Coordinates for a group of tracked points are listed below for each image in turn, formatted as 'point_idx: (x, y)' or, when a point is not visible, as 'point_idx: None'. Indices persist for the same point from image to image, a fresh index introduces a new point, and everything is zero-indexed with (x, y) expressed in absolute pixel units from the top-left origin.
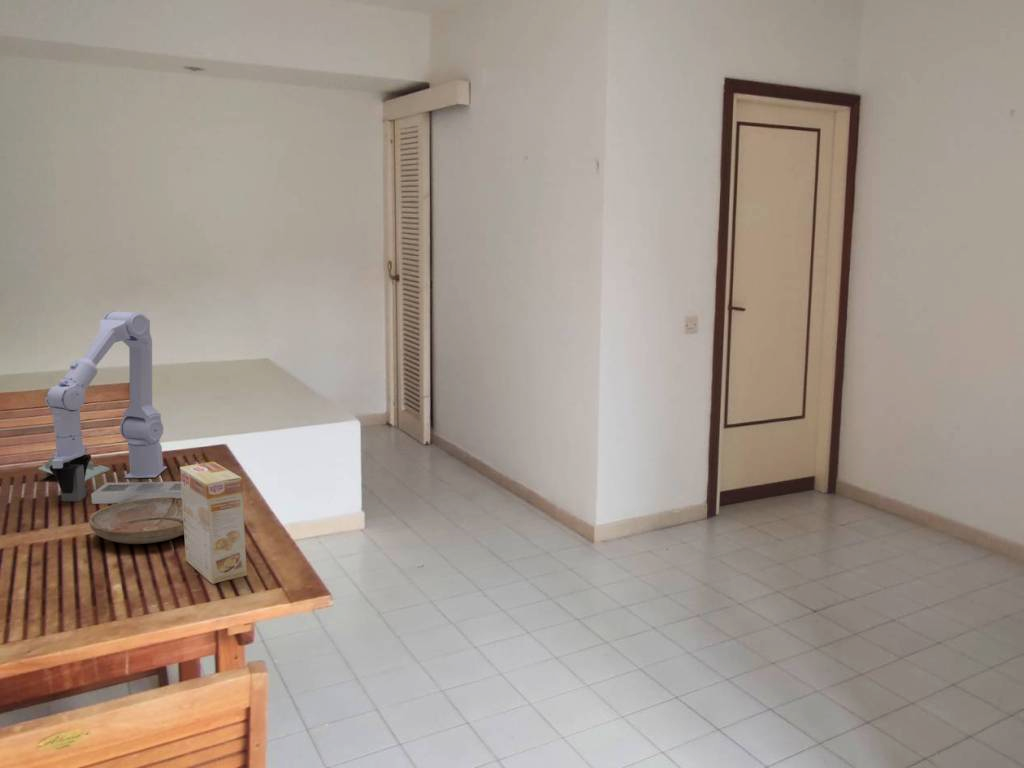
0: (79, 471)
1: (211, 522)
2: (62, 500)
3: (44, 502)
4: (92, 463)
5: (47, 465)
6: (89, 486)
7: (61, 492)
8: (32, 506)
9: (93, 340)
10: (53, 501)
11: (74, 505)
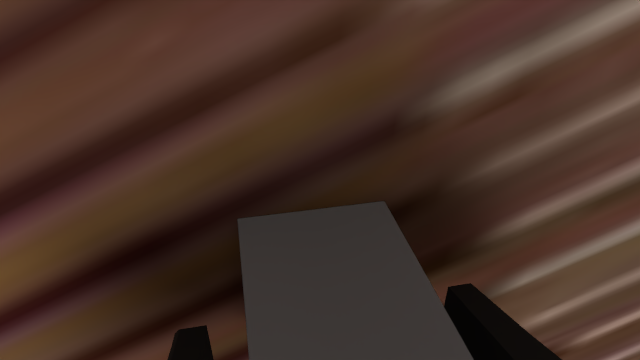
0: None
1: None
2: (239, 225)
3: (191, 77)
4: None
5: None
6: (615, 211)
7: (243, 280)
8: (18, 14)
9: None
10: (231, 149)
11: (138, 346)
